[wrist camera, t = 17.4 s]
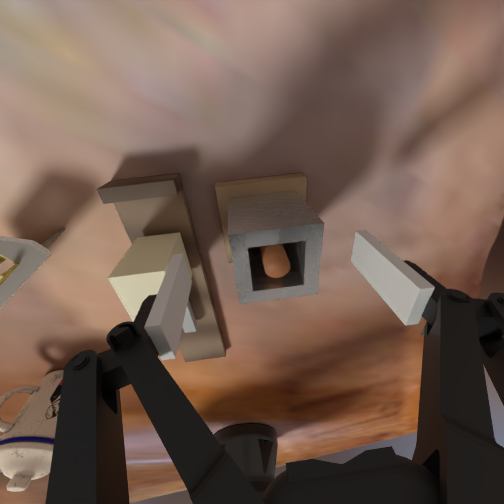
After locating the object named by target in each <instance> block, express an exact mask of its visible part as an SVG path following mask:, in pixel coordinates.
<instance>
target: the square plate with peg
mask: <svg viewBox="0 0 504 504" xmlns="http://www.w3.org/2000/svg"><path fill="white" fill-rule="evenodd" d="M306 188H307V176H306V175H305V174H303V173H294V174H285V175H277V176H268V177H260V178H252V179H243V180H235V181H226V182H218V183H215V192H216V197H217V203H218V208H219V213H220V219H221V224H222V230H223V235H224V240H225V246H226V251H227V257H228V262H229V263H233V261H232V255H231V249H230V244H229V238H228V198H229V197H237V196H246V195H254V194H263V193H271V192H279V191H288V190H296V191H297V192H298V193H299V194H300V195H301V197H302V198H303V199H304V200H305V201H306ZM259 247H260V251H261V256H262V260H263V265H264V269H265V272H266V274H267V275H268V276H270V277H273V278H279V277H282V276H284V275H286V274H287V273H288V271H289V270H290V262H289V260H288V257H287V255H286V252H285V250H284V247H283V245H282V244H275V245H267V246H259Z"/></svg>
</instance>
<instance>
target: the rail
mask: <svg viewBox="0 0 504 504" xmlns="http://www.w3.org/2000/svg"><path fill="white" fill-rule="evenodd" d="M97 191H98V193H99V195H100V197H101V199H102V202H103V204H107V203H114V205H115V207H116V210H117V212H118V214H119V216H120V218H121V221H122V223H123V225H124V227H125V230H126V232H127V234H128V236H129V238H130V241H131V243H132V244H133V243H134V241H135V240H136V239H137V237H145V236H154V235H162V234H170V233H178V232H180V235H181V238H182V241H183V244H184V248H185V251H186V254H187V257H188V261H189V264H190V267H191V271H192V278H191V280H192V285H191V289H190V294H189V302H190V305H191V308H192V311H193V314H194V317H195V319H196V322H197V330H196V331H195V332H188V333H185V332H184V329H183V327H182V331H181V335H180V340H179V345H178V347H179V349H180V351H181V353H182V356H183V358H184V360H185V362H189V361H196V360H203V359H211V358H218V357H225V356H226V349H225V345H224V341H223V338H222V334H221V330H220V326H219V322H218V319H217V315H216V311H215V307H214V303H213V300H212V296H211V292H210V288H209V284H208V281H207V277H206V273H205V269H204V265H203V262H202V258H201V254H200V250H199V247H198V243H197V239H196V235H195V231H194V228H193V224H192V220H191V216H190V212H189V209H188V205H187V201H186V197H185V193H184V190H183V186H182V182H181V178H180V174H179V173H175V174H167V175H158V176H150V177H141V178H133V179H124V180H116V181H110V182H108V183H106V184H105V185H103V186H101V187H100V188H98V189H97Z"/></svg>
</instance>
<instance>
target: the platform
mask: <svg viewBox="0 0 504 504" xmlns="http://www.w3.org/2000/svg"><path fill="white" fill-rule="evenodd" d="M64 230H65V229H64V228H63V229H61V230H60V231H58V232H57V233H56V234H54V235H53V236H51V237H50V238H49V239H47V240H46V241H44V242H43V243H42V244H39V243H37V242H35V241H33V240H27V239H19V238H11V237H4V236H0V263H2V262H3V261H5V260H6V259H7V260H9V261H11V262H13V263H14V264H15V265H14V266H15V267H14V266H12V267H11V268H12V269H11V268H10V269H8V270H7V271H8V272H7V271H5V272H4V273H5V274H4V273H3V274H0V276H1V277H0V308H1V307H2V306H3V305H4V304H5V303H6V302H7V301H8V300H9V299H10V298H11V297H12V296H13V295H14V294H15V293H16V292H17V291H18V290H19V288H20V287H21V286H22V285H23V284H24V283H25V282H26V281H27V280H28V279H29V278H30V277H31V276H32V275H33V274H34V273H35V272H36V271H37V270H38V269H39V267H40V266H41V265H42V264H43V263H44V262H45V261H46V260H47V259H48V258H49V257H50V256H51V252H50V251H49V250H48V249H47V248H48V247H49V246H50V245H51V244H52V243H53V242H54V241H55V240H56V239H57V238H58V236H59V235H60V234H61V233H62V232H63V231H64Z"/></svg>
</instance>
